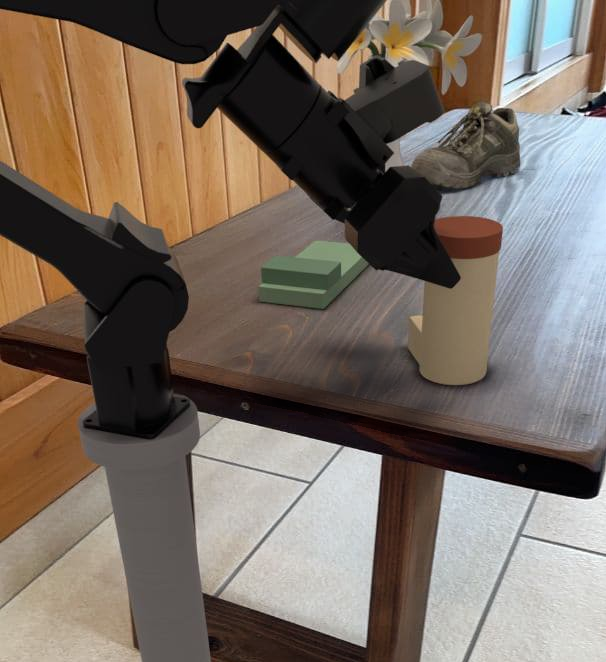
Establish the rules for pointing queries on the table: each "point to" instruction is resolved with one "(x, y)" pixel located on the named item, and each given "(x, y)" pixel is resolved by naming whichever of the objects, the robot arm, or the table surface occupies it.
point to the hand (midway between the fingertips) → (435, 263)
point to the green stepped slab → (310, 275)
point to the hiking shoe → (473, 149)
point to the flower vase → (415, 46)
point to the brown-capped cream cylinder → (459, 304)
